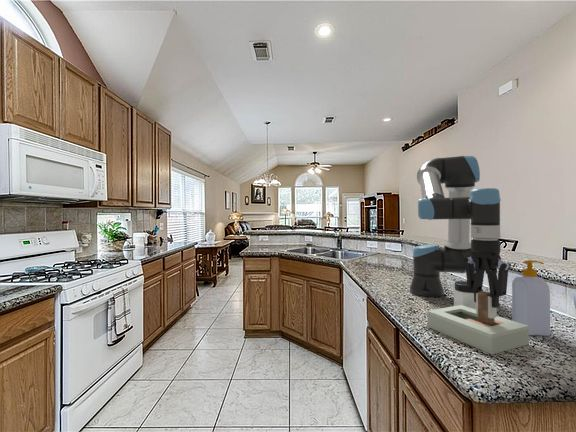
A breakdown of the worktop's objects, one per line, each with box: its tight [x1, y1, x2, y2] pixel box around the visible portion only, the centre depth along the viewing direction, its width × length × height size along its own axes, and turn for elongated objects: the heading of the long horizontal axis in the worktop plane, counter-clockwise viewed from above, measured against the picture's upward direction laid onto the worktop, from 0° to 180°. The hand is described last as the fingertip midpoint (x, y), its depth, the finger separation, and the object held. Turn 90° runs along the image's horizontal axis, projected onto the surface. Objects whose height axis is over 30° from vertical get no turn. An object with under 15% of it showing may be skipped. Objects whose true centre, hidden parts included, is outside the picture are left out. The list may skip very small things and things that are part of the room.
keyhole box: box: [426, 305, 530, 355], centre depth 95 cm, size 22×16×6 cm
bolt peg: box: [478, 290, 494, 326], centre depth 91 cm, size 5×5×14 cm
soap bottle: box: [511, 260, 551, 337], centre depth 97 cm, size 9×7×23 cm
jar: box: [453, 280, 476, 309], centre depth 113 cm, size 9×8×12 cm
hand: (486, 315), depth 91 cm, fingers closed on bolt peg, 3 cm apart
